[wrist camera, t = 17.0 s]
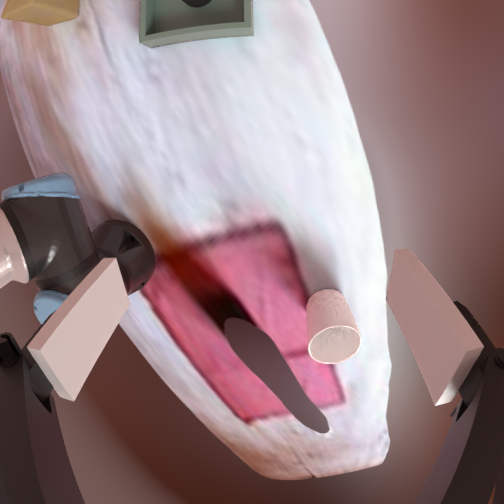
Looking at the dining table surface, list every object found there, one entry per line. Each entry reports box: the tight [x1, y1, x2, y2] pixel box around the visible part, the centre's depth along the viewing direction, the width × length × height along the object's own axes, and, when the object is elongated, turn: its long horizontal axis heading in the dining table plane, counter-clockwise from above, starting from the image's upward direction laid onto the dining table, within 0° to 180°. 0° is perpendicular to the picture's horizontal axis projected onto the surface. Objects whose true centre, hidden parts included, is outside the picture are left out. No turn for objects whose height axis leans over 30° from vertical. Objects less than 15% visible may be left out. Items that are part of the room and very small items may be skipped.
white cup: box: [306, 289, 362, 364], centre depth 52 cm, size 10×9×12 cm
